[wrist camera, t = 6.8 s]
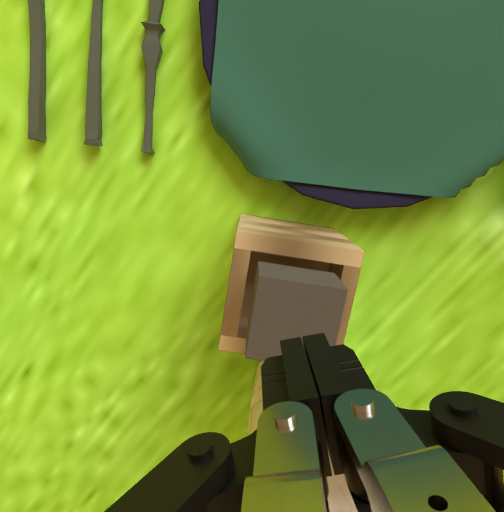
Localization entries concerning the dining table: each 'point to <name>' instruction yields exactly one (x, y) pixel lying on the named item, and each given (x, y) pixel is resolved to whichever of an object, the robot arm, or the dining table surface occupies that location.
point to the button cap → (292, 307)
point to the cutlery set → (333, 92)
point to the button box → (284, 253)
